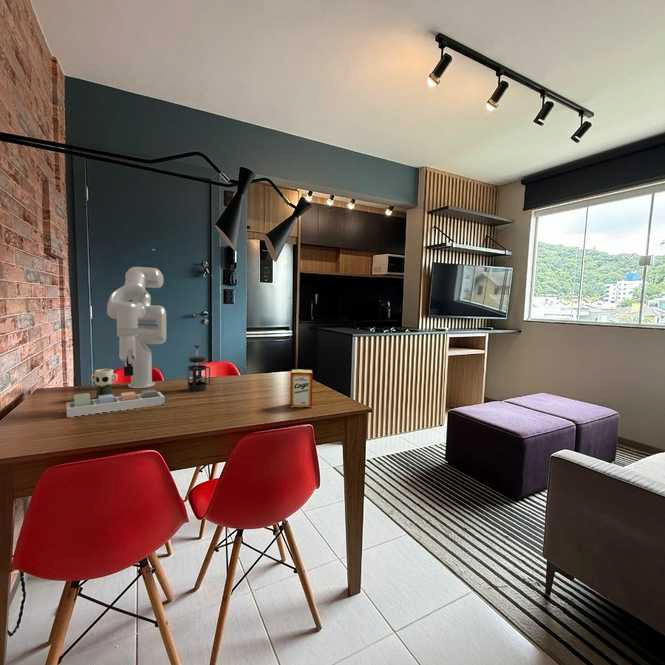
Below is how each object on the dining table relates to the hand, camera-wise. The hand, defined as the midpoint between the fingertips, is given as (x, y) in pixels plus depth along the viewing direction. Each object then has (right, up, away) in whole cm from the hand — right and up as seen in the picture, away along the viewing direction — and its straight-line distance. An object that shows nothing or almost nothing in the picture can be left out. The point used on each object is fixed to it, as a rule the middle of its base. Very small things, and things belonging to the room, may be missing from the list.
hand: (128, 375), depth 149 cm
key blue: (-6, -12, -5) cm, 14 cm away
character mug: (-17, -12, +11) cm, 24 cm away
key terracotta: (0, -12, 0) cm, 12 cm away
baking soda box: (+72, -15, +8) cm, 74 cm away
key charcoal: (+6, -11, +5) cm, 14 cm away
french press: (+17, -11, +31) cm, 38 cm away
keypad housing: (-3, -13, -2) cm, 14 cm away
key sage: (-13, -11, -10) cm, 19 cm away
